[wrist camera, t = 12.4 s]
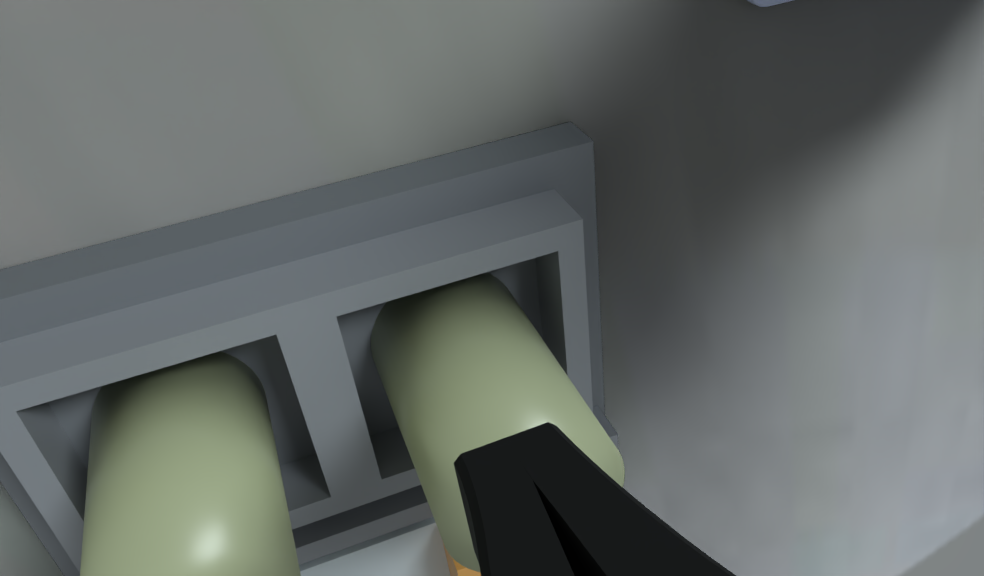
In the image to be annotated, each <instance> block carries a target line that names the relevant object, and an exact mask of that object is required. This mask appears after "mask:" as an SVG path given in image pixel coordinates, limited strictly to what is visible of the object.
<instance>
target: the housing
mask: <svg viewBox="0 0 984 576" xmlns="http://www.w3.org/2000/svg"><path fill="white" fill-rule="evenodd" d="M219 351H221V352H224V353H227V354H229V355H231V356H233V357H235V358H237V359H239V360H240V361H242V362H243V363H245V364H246V365H247V366H248V367H250V368H251V369H252V370H253V371H254V373H255V374H256V375H257V376H258V378H259V379H260V381H261V383H262V385H263V387H264V390H265V393H266V398H267V403H268V408H269V414H270V419H271V424H272V429H273V434H274V439H275V445H276V450H277V455H278V460H279V465H280V470H281V476H282V481H283V486H284V491H285V496H286V501H287V506H288V512H289V517H290V522H291V527H292V532H293V537H294V543H295V548H296V553H297V558H298V563H299V565H300V564H303V563H306V562H309V561H312V560H314V559H317V558H320V557H323V556H326V555H328V554H331V553H334V552H337V551H339V550H342V549H345V548H348V547H351V546H353V545H356V544H359V543H362V542H365V541H367V540H370V539H373V538H376V537H378V536H381V535H384V534H387V533H390V532H392V531H395V530H398V529H401V528H403V527H406V526H409V525H412V524H415V523H417V522H420V521H423V520H426V519H429V518H431V517H434V519H435V522H436V525H437V527H438V530H439V533H440V535H441V538H442V540H443V543H444V546H445V548H446V549H447V551H448V553H449V554H450V555H451V557H452V558H453V559H454V560H455V561H457V562H458V563H459V564H461V565H462V566H464V567H466V568H468V569H471V570H474V571H477V572H480V566H479V563H478V560H477V557H476V554H475V552H474V548H473V544H472V539H471V535H470V531H469V527H468V522H467V518H466V514H465V510H464V506H463V501H462V497H461V493H460V489H459V484H458V480H457V476H456V472H455V468H454V462H455V460H456V459H457V458H458V456H459V455H460V454H461V453H464V452H467V451H470V450H472V449H475V448H478V447H481V446H484V445H486V444H489V443H492V442H495V441H497V440H500V439H503V438H506V437H508V436H511V435H514V434H517V433H519V432H522V431H525V430H528V429H530V428H533V427H536V426H539V425H542V424H544V423H547V422H549V423H552V424H554V425H556V426H557V427H558V428H559V429H560V430H561V431H562V432H563V433H564V434H565V435H566V436H567V437H568V438H569V439H570V440H571V441H572V442H573V443H574V444H575V445H576V446H577V447H578V448H579V449H580V450H582V451H583V452H584V453H585V454H586V455H587V456H588V457H589V458H590V459H591V460H592V461H593V462H594V463H596V464H597V465H598V466H599V467H600V468H601V469H602V470H603V471H604V472H605V473H607V474H608V475H609V476H610V477H611V478H612V479H613V480H615V481H616V482H617V483H618V484H619V485H620V486H621V487H623V484H624V476H625V470H624V463H623V460H622V457H621V455H620V453H619V451H618V434H617V432H616V431H615V430H614V428H613V427H612V425H611V424H610V422H609V421H608V420H607V418H606V417H605V405H604V381H603V357H602V333H601V310H600V286H599V262H598V238H597V214H596V190H595V167H594V143H593V140H591V139H590V138H589V137H588V136H587V135H586V134H585V133H583V132H582V131H581V130H580V129H579V128H578V127H576V126H575V125H574V124H573V123H572V122H568V123H564V124H560V125H556V126H552V127H548V128H544V129H541V130H537V131H533V132H529V133H525V134H521V135H517V136H514V137H510V138H506V139H502V140H498V141H494V142H491V143H487V144H483V145H479V146H475V147H471V148H467V149H464V150H460V151H456V152H452V153H448V154H444V155H440V156H437V157H433V158H429V159H425V160H421V161H417V162H413V163H410V164H406V165H402V166H398V167H394V168H390V169H387V170H383V171H379V172H375V173H371V174H367V175H363V176H360V177H356V178H352V179H348V180H344V181H340V182H336V183H333V184H329V185H325V186H321V187H317V188H313V189H309V190H306V191H302V192H298V193H294V194H290V195H286V196H282V197H279V198H275V199H271V200H267V201H263V202H259V203H256V204H252V205H248V206H244V207H240V208H236V209H232V210H229V211H225V212H221V213H217V214H213V215H209V216H205V217H202V218H198V219H194V220H190V221H186V222H182V223H178V224H175V225H171V226H167V227H163V228H159V229H155V230H152V231H148V232H144V233H140V234H136V235H132V236H128V237H125V238H121V239H117V240H113V241H109V242H105V243H101V244H98V245H94V246H90V247H86V248H82V249H78V250H74V251H71V252H67V253H63V254H59V255H55V256H51V257H48V258H44V259H40V260H36V261H32V262H28V263H24V264H21V265H17V266H13V267H9V268H5V269H1V270H0V482H1V483H2V485H3V486H4V488H5V489H6V491H7V492H8V493H9V495H10V496H11V498H12V499H13V501H14V502H15V504H16V505H17V507H18V508H19V510H20V511H21V513H22V514H23V516H24V517H25V519H26V520H27V522H28V523H29V524H30V526H31V527H32V529H33V530H34V532H35V533H36V535H37V536H38V538H39V539H40V541H41V542H42V544H43V545H44V547H45V548H46V550H47V551H48V553H49V554H50V555H51V557H52V558H53V560H54V561H55V563H56V564H57V566H58V567H59V569H60V570H61V572H62V573H63V575H64V576H80V568H81V554H82V541H83V527H84V514H85V500H86V487H87V473H88V460H89V446H90V433H91V419H92V409H93V405H94V401H95V399H96V396H97V394H98V392H99V390H100V389H101V387H102V386H104V385H107V384H110V383H114V382H117V381H121V380H124V379H127V378H131V377H134V376H137V375H141V374H144V373H148V372H151V371H154V370H158V369H161V368H164V367H168V366H171V365H175V364H178V363H181V362H185V361H188V360H192V359H195V358H198V357H202V356H205V355H208V354H212V353H215V352H219Z"/></svg>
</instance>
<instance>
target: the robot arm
mask: <svg viewBox="0 0 984 576" xmlns="http://www.w3.org/2000/svg"><path fill="white" fill-rule="evenodd" d="M747 1H749V2H750V3H752V4H755V5H757V6H759V7H769V6H773V5H777V4H781V3H785V2H789V1H794V0H747ZM454 468H455V472H456V476H457V480H458V484H459V489H460V493H461V497H462V501H463V506H464V510H465V514H466V518H467V522H468V527H469V531H470V535H471V539H472V544H473V548H474V552H475V554H476V557H477V560H478V563H479V566H480V573H481V576H736V575H734V574H733V573H732V572H730V571H729V570H727V569H726V568H725V567H723V566H722V565H720V564H719V563H718V562H716V561H715V560H713V559H712V558H711V557H709V556H708V555H706V554H705V553H704V552H702V551H701V550H700V549H698V548H697V547H696V546H694V545H693V544H692V543H691V542H689V541H688V540H687V539H685V538H684V537H683V536H681V535H680V534H679V533H678V532H676V531H675V530H674V529H673V528H671V527H670V526H669V525H668V524H666V523H665V522H664V521H663V520H661V519H660V518H659V517H658V516H656V515H655V514H654V513H653V512H651V511H650V510H649V509H648V508H646V507H645V506H644V505H643V504H641V503H640V502H639V501H638V500H637V499H635V498H634V497H633V496H632V495H631V494H629V493H628V492H627V491H626V490H625V489H624V488H623V487H621V486H620V485H619V484H618V483H617V482H616V481H615V480H613V479H612V478H611V477H610V476H609V475H608V474H607V473H605V472H604V471H603V470H602V469H601V468H600V467H599V466H598V465H597V464H596V463H594V462H593V461H592V460H591V459H590V458H589V457H588V456H587V455H586V454H585V453H584V452H583V451H582V450H580V449H579V448H578V447H577V446H576V445H575V444H574V443H573V442H572V441H571V440H570V439H569V438H568V437H567V436H566V435H565V434H564V433H563V432H562V431H561V430H560V429H559V428H558V427H557V426H556V425H554V424H552V423H549V422H547V423H544V424H542V425H539V426H536V427H533V428H530V429H528V430H525V431H522V432H519V433H517V434H514V435H511V436H508V437H506V438H503V439H500V440H497V441H495V442H492V443H489V444H486V445H484V446H481V447H478V448H475V449H472V450H470V451H467V452H464V453H461V454H460V455H459V456H458V458H457V459H456V460H455V462H454Z"/></svg>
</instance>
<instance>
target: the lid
mask: <svg viewBox="0 0 984 576" xmlns="http://www.w3.org/2000/svg"><path fill="white" fill-rule="evenodd" d="M299 568H300V574H301V576H481V573H480V572H477V571H474V570H471V569H468V568H466V567H464V566H462V565H461V564H459V563H458V562H457V561H455V560H454V559H453V558H452V557H451V555H450V554H449V553H448V551H447V549H446V548H445V546H444V543H443V540H442V538H441V535H440V533H439V530H438V527H437V525H436V522H435V519H434V517H431V518H429V519H426V520H423V521H420V522H417V523H415V524H412V525H409V526H406V527H403V528H401V529H398V530H395V531H392V532H390V533H387V534H384V535H381V536H378V537H376V538H373V539H370V540H367V541H365V542H362V543H359V544H356V545H353V546H351V547H348V548H345V549H342V550H339V551H337V552H334V553H331V554H328V555H326V556H323V557H320V558H317V559H314V560H312V561H309V562H306V563H303V564H300V565H299Z"/></svg>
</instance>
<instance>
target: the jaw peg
mask: <svg viewBox="0 0 984 576" xmlns="http://www.w3.org/2000/svg"><path fill="white" fill-rule="evenodd" d="M80 576H301V574H300V568H299V563H298V558H297V553H296V548H295V543H294V537H293V532H292V527H291V522H290V517H289V512H288V506H287V501H286V496H285V491H284V486H283V481H282V476H281V470H280V465H279V460H278V455H277V450H276V445H275V439H274V434H273V429H272V424H271V419H270V414H269V408H268V403H267V398H266V393H265V390H264V387H263V385H262V383H261V381H260V379H259V378H258V376H257V375H256V374H255V373H254V371H253V370H252V369H251V368H250V367H248V366H247V365H246V364H245V363H243V362H242V361H240V360H239V359H237V358H235V357H233V356H231V355H229V354H227V353H224V352H221V351H219V352H215V353H212V354H208V355H205V356H202V357H198V358H195V359H192V360H188V361H185V362H181V363H178V364H175V365H171V366H168V367H164V368H161V369H158V370H154V371H151V372H148V373H144V374H141V375H137V376H134V377H131V378H127V379H124V380H121V381H117V382H114V383H110V384H107V385H104V386H102V387H101V389H100V390H99V392H98V394H97V396H96V399H95V401H94V405H93V409H92V419H91V433H90V446H89V460H88V473H87V487H86V500H85V514H84V527H83V541H82V554H81V568H80Z"/></svg>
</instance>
